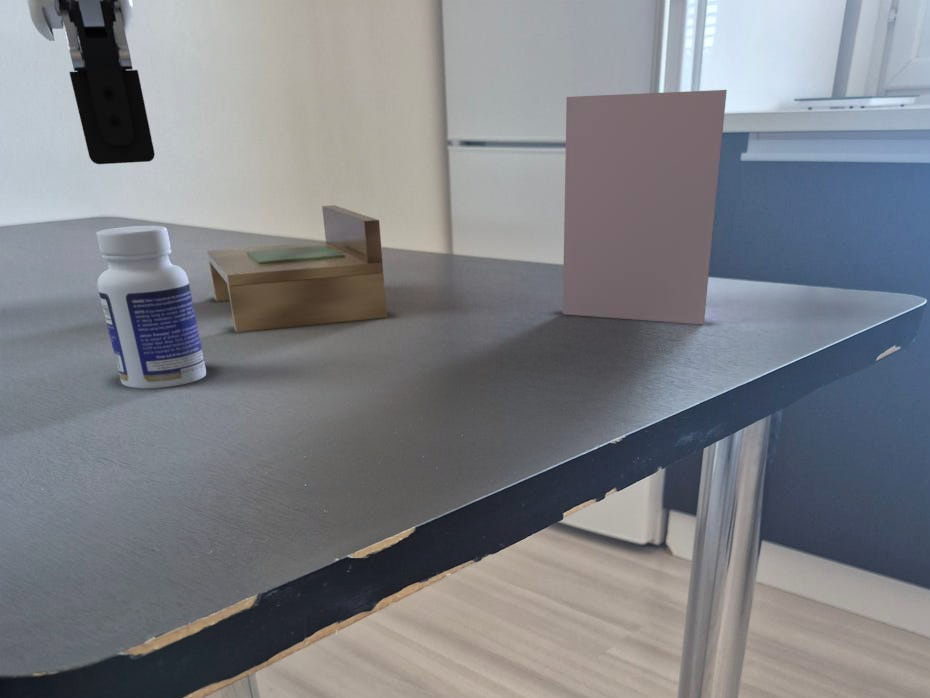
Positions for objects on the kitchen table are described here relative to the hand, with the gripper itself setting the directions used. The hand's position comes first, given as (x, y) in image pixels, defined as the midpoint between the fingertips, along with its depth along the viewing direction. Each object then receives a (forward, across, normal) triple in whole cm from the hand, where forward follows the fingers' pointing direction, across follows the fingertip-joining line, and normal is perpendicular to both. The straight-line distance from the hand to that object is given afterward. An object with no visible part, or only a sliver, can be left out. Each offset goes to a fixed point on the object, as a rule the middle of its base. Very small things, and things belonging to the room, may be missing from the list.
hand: (122, 160), depth 49 cm
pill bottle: (+13, 0, 0) cm, 13 cm away
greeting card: (+13, -3, +35) cm, 37 cm away
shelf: (+12, -20, +12) cm, 26 cm away
